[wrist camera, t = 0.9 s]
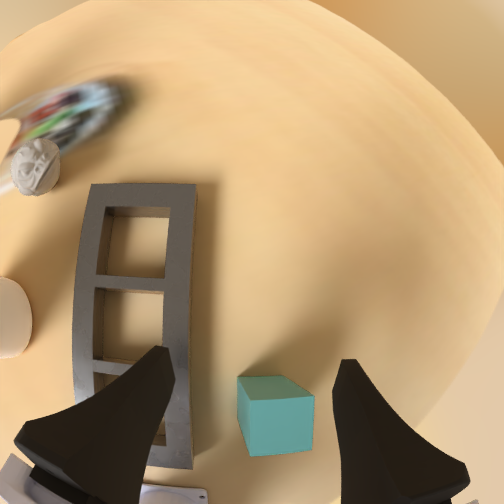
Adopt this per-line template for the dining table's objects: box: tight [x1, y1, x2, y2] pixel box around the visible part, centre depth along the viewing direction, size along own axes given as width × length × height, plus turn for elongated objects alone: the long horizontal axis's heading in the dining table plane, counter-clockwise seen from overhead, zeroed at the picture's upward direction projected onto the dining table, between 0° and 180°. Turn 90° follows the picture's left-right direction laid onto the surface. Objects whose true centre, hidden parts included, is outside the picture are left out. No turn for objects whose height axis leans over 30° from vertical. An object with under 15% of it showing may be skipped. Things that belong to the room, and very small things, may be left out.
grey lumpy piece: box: [11, 138, 60, 196], centre depth 21 cm, size 6×7×7 cm
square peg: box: [237, 375, 315, 457], centre depth 19 cm, size 4×4×8 cm
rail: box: [72, 183, 197, 470], centre depth 21 cm, size 24×10×2 cm, turn 0°
